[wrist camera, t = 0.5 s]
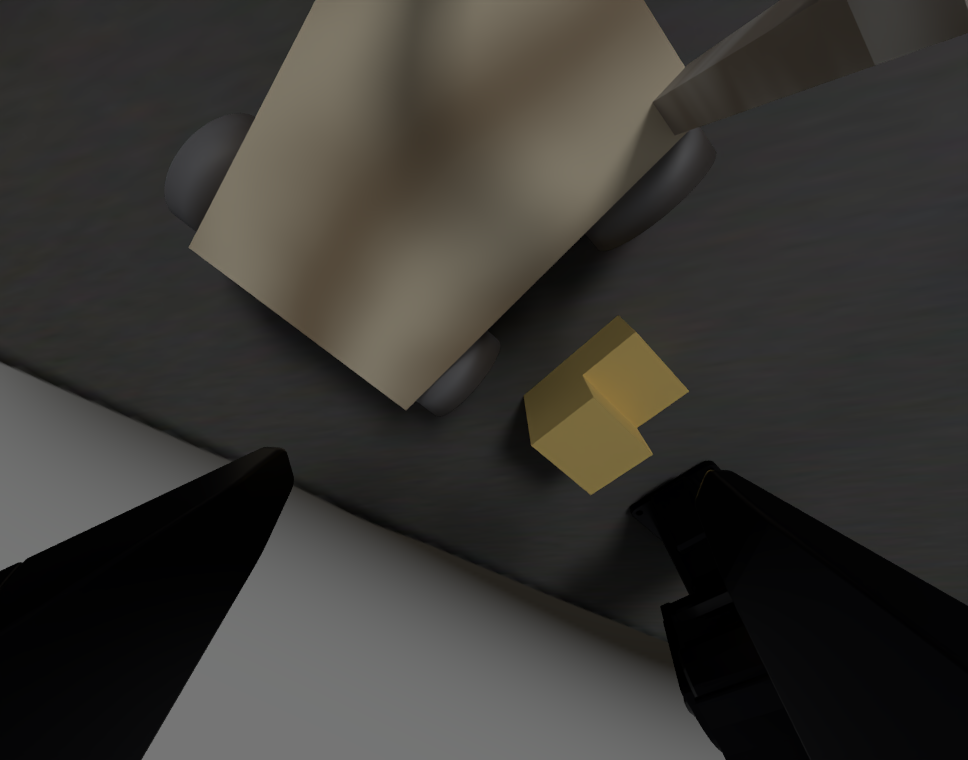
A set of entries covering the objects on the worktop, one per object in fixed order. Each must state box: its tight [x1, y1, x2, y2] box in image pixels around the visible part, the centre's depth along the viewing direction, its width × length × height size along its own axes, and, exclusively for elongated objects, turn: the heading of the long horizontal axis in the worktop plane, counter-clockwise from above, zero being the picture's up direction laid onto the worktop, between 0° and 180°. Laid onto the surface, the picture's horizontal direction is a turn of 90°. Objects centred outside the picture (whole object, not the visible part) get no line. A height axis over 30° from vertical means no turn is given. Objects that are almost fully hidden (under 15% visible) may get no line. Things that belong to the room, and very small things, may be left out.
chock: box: [524, 316, 689, 495], centre depth 19 cm, size 5×7×5 cm, turn 136°
